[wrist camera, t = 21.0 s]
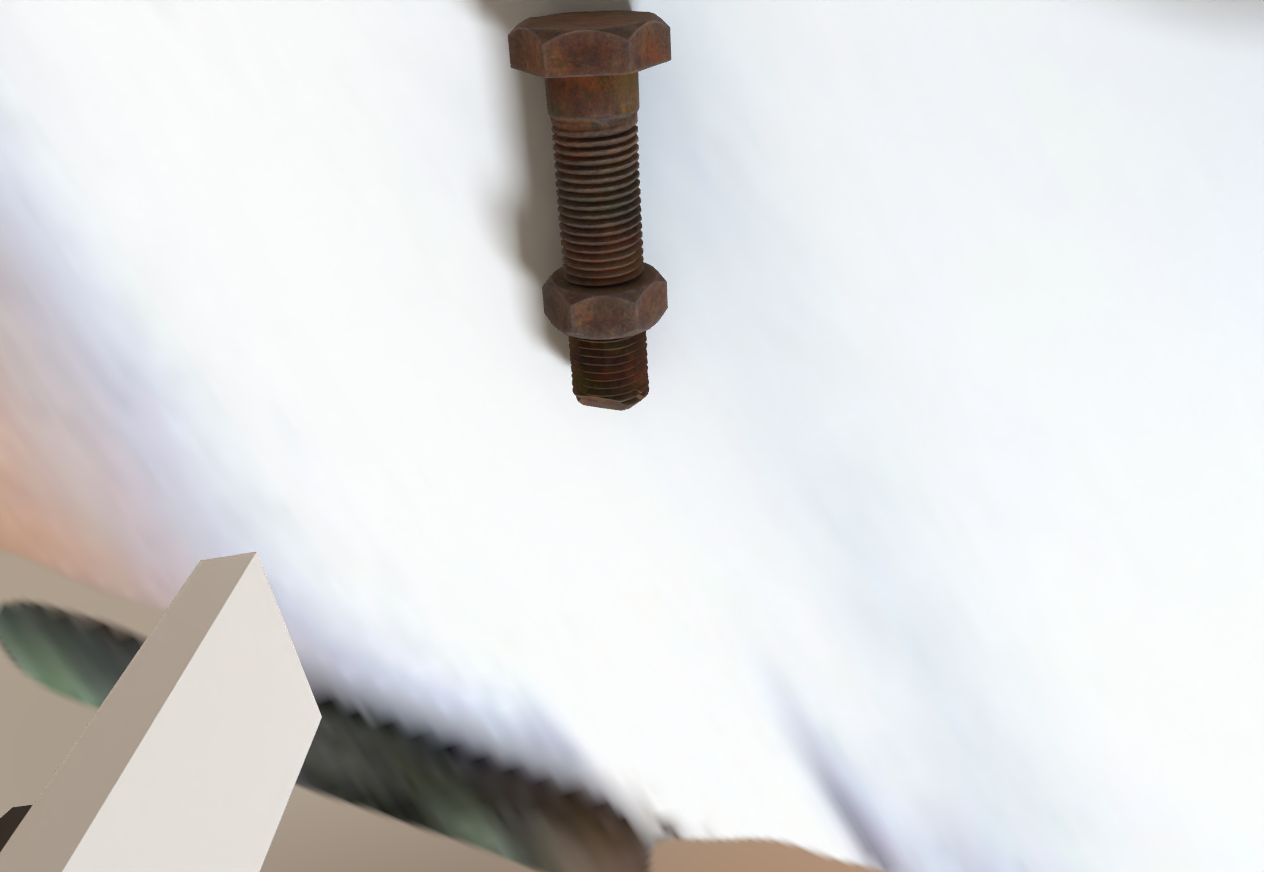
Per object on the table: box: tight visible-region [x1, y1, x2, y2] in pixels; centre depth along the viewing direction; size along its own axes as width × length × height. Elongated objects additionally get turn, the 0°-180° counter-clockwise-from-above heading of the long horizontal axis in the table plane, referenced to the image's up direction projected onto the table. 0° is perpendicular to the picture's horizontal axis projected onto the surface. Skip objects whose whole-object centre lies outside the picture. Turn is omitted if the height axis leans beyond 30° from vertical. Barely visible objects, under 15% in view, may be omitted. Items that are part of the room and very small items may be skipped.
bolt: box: [508, 11, 671, 411], centre depth 42 cm, size 6×5×15 cm
